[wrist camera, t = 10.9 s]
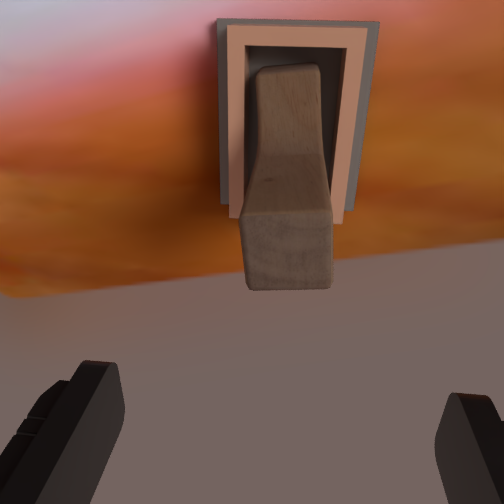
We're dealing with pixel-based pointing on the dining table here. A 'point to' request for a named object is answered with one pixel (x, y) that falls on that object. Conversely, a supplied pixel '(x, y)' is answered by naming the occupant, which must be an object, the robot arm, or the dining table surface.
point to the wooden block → (288, 186)
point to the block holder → (332, 96)
